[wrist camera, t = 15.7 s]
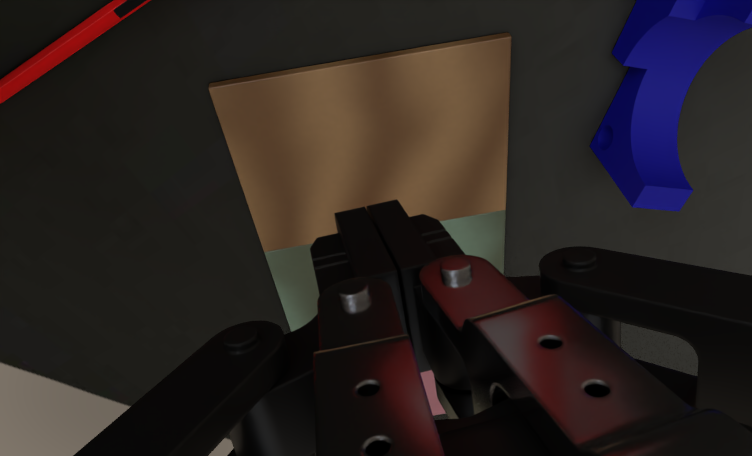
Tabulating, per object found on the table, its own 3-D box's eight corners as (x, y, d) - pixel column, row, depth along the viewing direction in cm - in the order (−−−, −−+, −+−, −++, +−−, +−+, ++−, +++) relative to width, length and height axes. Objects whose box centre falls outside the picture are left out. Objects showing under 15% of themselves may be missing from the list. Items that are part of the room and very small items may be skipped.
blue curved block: (666, -61, 30) (735, -17, 25) (742, -45, 31) (821, -1, 26) (568, 143, 37) (608, 204, 33) (631, 150, 38) (679, 211, 34)
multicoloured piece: (300, 354, 48) (301, 361, 47) (208, 82, 32) (207, 88, 31) (499, 319, 48) (502, 325, 48) (508, 31, 32) (511, 36, 32)
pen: (228, -56, 27) (226, -48, 27) (-63, 144, 32) (-72, 156, 31) (215, -74, 27) (213, -67, 26) (-79, 132, 31) (-88, 144, 31)
